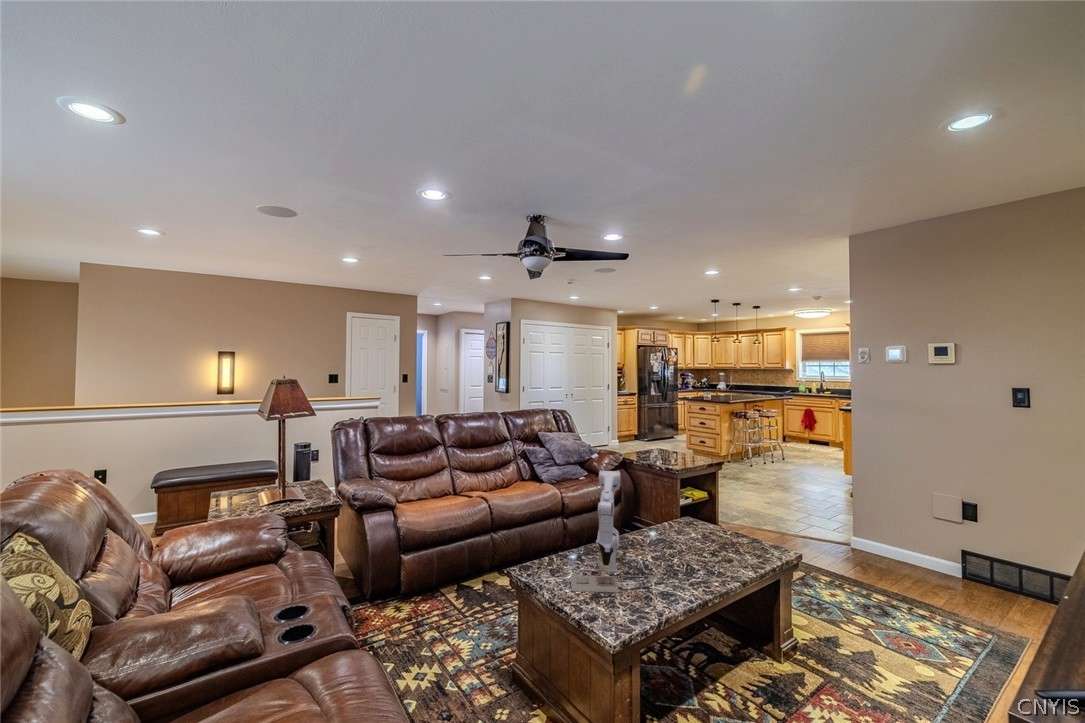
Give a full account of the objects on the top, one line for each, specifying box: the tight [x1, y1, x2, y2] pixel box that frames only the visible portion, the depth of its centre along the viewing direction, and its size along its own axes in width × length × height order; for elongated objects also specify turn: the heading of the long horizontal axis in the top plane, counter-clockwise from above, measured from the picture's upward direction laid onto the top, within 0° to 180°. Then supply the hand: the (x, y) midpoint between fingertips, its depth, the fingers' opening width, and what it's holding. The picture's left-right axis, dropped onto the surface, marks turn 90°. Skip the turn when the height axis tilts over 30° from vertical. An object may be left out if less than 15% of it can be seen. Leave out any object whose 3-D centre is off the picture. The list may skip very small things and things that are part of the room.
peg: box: [599, 550, 610, 573], centre depth 189 cm, size 4×4×8 cm
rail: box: [570, 574, 619, 593], centre depth 189 cm, size 10×19×2 cm, turn 88°
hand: (605, 562), depth 189 cm, fingers closed on peg, 4 cm apart
